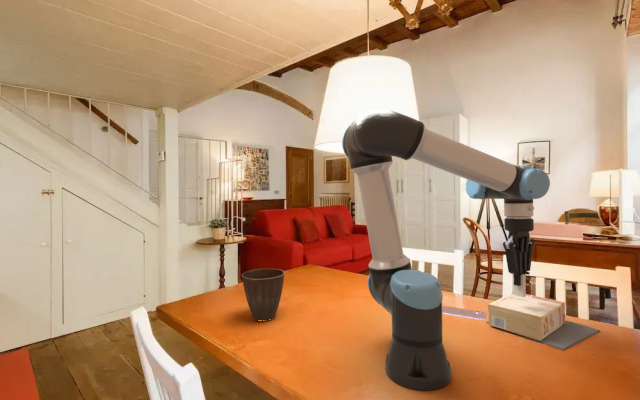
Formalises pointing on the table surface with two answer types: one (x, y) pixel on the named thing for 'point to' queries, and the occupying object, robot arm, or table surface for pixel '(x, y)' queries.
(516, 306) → the coffeecake box
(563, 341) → the placemat
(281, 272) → the plant pot
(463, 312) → the mobile phone
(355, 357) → the table surface
